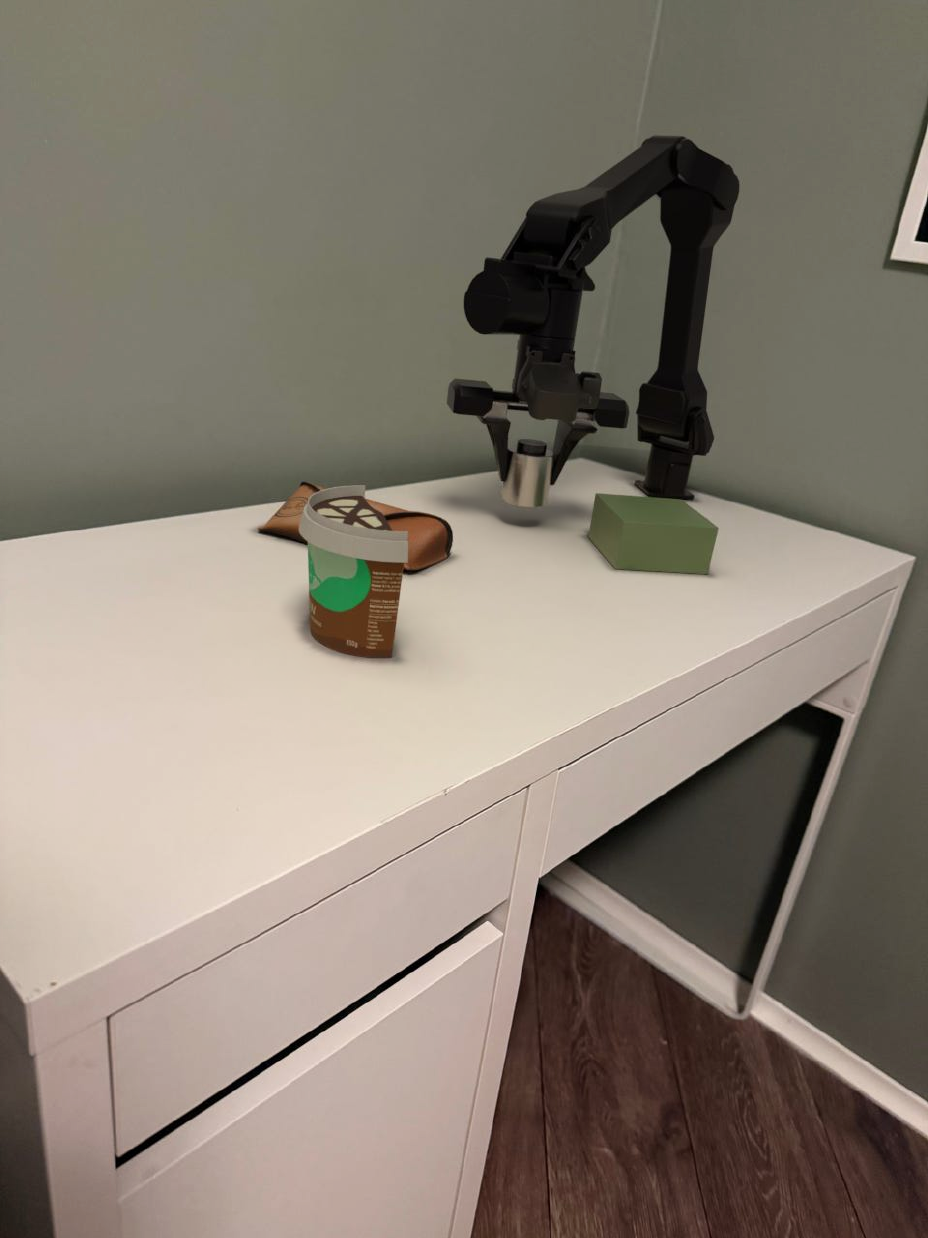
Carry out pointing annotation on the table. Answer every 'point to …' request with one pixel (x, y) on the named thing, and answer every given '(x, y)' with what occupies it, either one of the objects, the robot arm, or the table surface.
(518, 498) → the flask
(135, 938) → the table surface
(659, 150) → the robot arm
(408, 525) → the sunglasses case
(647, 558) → the green block
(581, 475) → the table surface
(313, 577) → the food container
